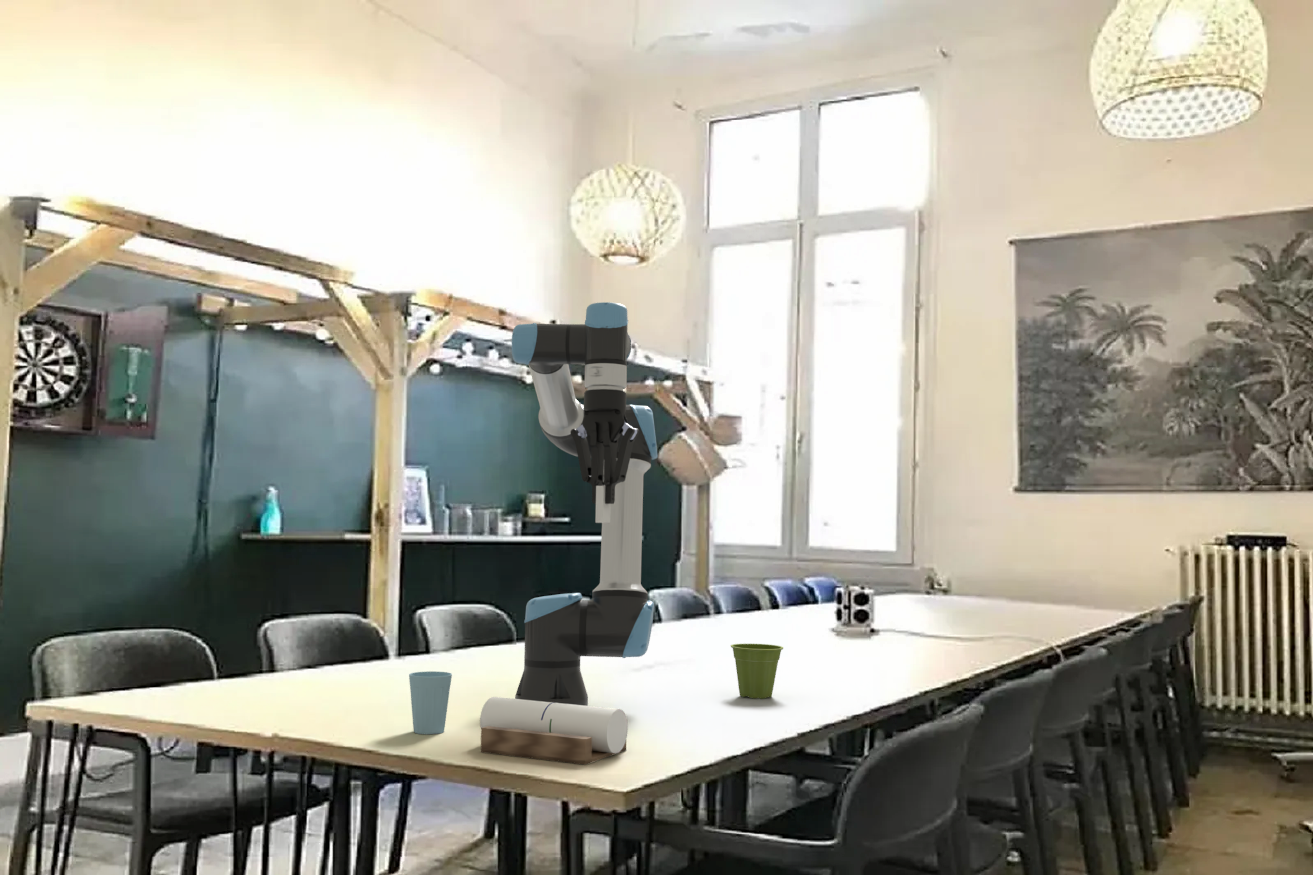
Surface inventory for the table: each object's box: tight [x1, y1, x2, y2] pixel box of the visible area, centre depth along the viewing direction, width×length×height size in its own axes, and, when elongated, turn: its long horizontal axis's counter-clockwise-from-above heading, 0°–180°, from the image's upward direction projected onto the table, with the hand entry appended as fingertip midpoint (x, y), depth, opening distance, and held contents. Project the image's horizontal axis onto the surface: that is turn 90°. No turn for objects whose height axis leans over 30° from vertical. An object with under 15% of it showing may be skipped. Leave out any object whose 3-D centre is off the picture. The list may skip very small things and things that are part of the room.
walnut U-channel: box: [480, 726, 627, 766], centre depth 199 cm, size 20×14×4 cm
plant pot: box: [730, 643, 784, 700], centre depth 265 cm, size 12×12×11 cm
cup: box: [408, 670, 453, 735], centre depth 215 cm, size 8×8×10 cm
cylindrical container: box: [479, 696, 629, 754], centre depth 201 cm, size 7×7×25 cm
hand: (602, 522), depth 209 cm, fingers closed
